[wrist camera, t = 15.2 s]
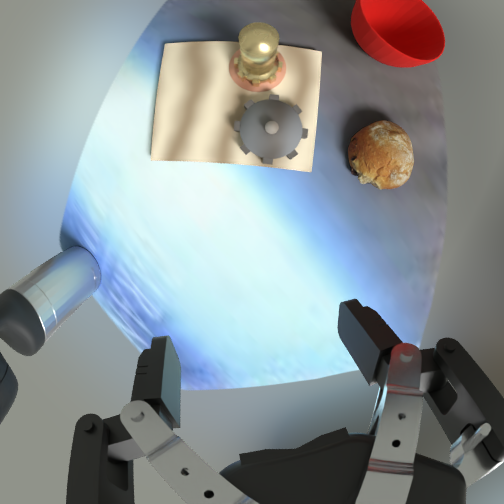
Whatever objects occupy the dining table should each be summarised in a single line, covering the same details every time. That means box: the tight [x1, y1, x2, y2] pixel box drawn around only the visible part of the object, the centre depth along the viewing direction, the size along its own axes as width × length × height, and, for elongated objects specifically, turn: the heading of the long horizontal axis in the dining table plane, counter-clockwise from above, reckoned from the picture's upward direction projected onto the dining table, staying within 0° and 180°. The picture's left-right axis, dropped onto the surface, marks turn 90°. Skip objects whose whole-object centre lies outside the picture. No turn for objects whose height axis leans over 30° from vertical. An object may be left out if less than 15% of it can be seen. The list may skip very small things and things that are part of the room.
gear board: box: [151, 41, 322, 172], centre depth 31 cm, size 22×18×5 cm
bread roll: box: [348, 120, 414, 190], centre depth 33 cm, size 10×10×8 cm
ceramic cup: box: [351, 0, 445, 67], centre depth 24 cm, size 13×17×10 cm
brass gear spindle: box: [234, 23, 283, 87], centre depth 25 cm, size 6×6×10 cm
